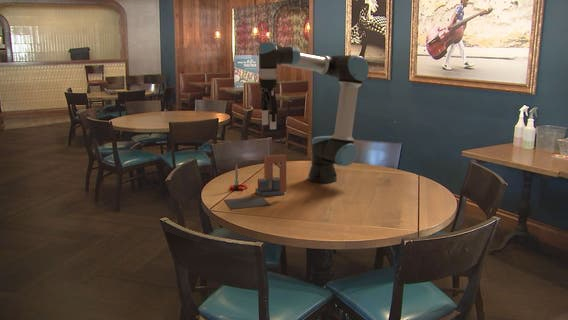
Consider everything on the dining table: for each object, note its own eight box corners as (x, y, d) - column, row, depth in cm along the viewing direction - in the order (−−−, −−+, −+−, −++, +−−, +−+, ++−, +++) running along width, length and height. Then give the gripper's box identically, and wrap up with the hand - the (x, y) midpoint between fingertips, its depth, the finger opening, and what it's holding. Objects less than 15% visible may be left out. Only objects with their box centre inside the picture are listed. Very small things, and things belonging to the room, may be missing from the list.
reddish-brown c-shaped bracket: (284, 190, 225) (284, 154, 221) (286, 192, 222) (286, 155, 219) (264, 192, 222) (264, 155, 218) (266, 194, 219) (265, 156, 216)
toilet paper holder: (279, 190, 239) (279, 154, 235) (292, 201, 221) (292, 163, 217) (255, 192, 236) (254, 156, 232) (267, 204, 217) (266, 165, 213)
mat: (262, 196, 228) (262, 196, 228) (270, 205, 215) (270, 204, 215) (224, 200, 223) (224, 199, 223) (230, 209, 210) (230, 208, 210)
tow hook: (232, 186, 248) (227, 190, 239) (232, 161, 246) (227, 164, 237) (248, 187, 247) (244, 191, 238) (248, 161, 245) (244, 165, 236)
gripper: (253, 77, 223) (254, 123, 228) (267, 80, 200) (268, 131, 205) (269, 76, 226) (269, 122, 230) (284, 79, 202) (285, 130, 207)
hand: (269, 126), depth 218 cm, fingers open, 13 cm apart
